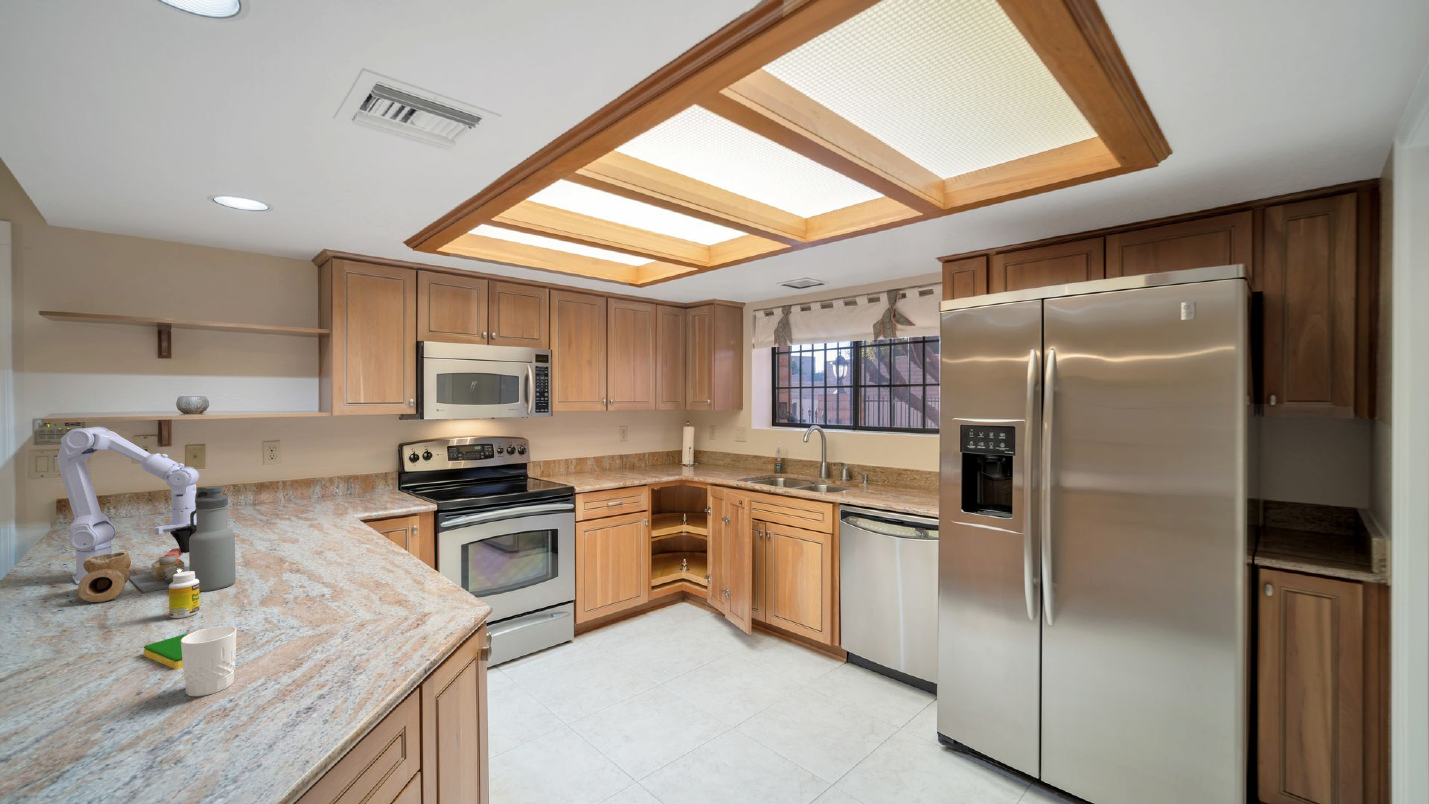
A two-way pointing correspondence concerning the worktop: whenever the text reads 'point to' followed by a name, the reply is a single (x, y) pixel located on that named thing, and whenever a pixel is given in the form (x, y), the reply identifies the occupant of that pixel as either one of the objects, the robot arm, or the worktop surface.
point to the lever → (170, 556)
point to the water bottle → (212, 541)
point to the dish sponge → (166, 652)
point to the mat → (150, 582)
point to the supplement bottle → (184, 595)
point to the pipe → (104, 576)
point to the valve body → (166, 570)
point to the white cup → (209, 660)
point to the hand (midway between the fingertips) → (186, 552)
